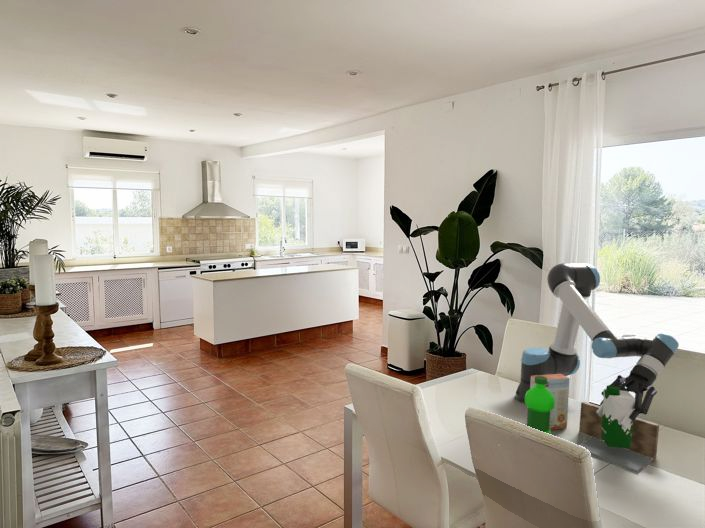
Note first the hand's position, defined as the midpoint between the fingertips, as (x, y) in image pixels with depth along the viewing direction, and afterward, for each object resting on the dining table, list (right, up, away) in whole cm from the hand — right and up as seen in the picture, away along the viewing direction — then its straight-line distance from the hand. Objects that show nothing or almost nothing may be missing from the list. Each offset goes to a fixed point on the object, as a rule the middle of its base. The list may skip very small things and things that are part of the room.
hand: (610, 420), depth 163 cm
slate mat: (+2, -13, +3) cm, 14 cm away
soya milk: (+3, -9, +2) cm, 10 cm away
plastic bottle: (-22, -12, +10) cm, 27 cm away
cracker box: (-12, -11, +25) cm, 30 cm away
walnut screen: (+8, -13, +12) cm, 19 cm away
